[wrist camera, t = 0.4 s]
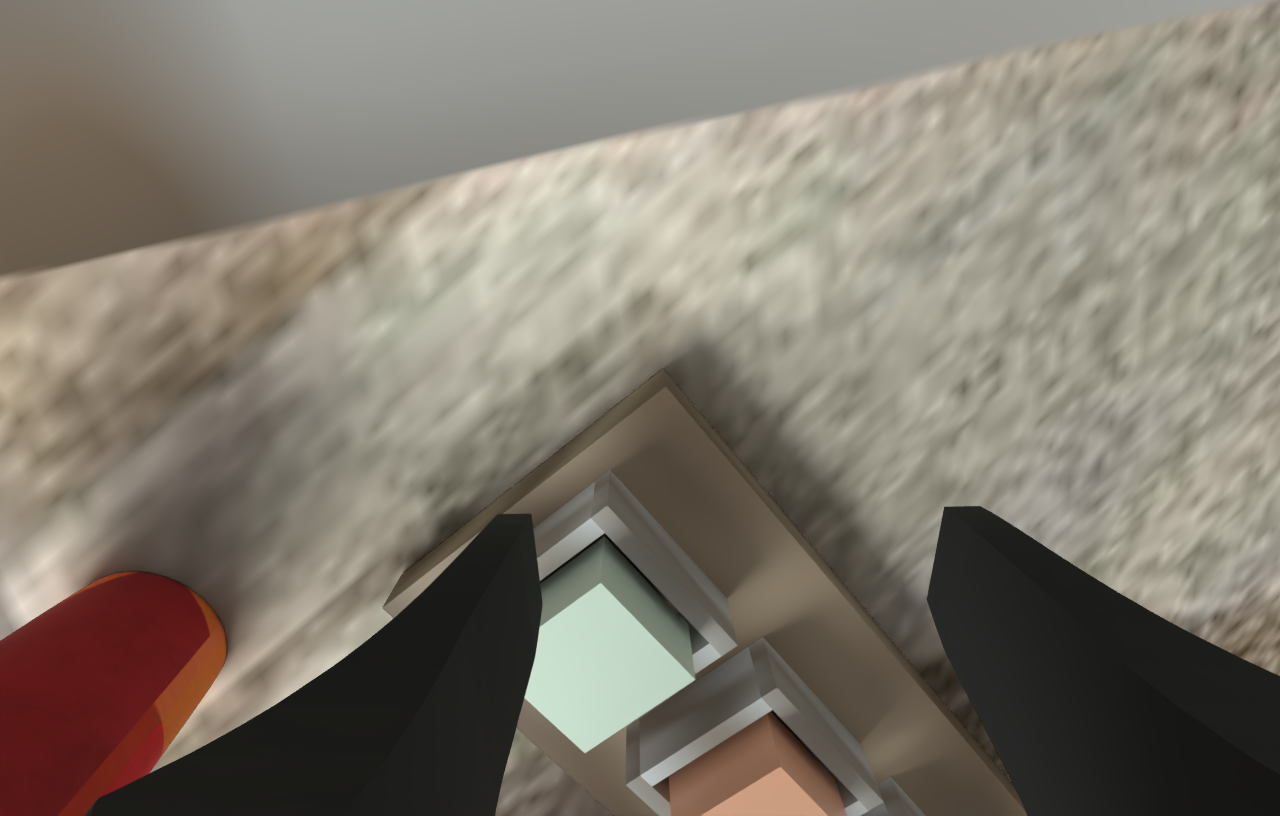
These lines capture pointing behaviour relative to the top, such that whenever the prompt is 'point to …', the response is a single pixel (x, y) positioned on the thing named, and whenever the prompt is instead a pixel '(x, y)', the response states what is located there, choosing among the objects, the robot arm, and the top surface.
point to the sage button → (605, 647)
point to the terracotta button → (756, 777)
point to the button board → (731, 624)
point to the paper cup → (101, 690)
